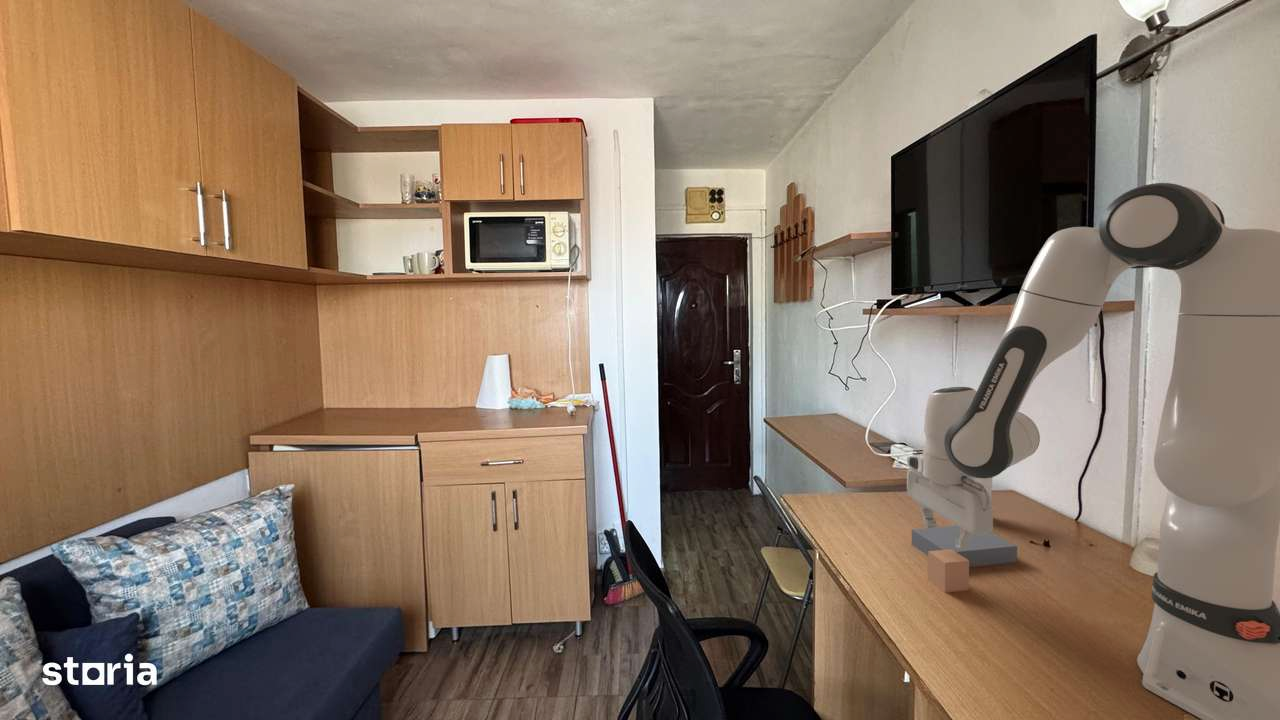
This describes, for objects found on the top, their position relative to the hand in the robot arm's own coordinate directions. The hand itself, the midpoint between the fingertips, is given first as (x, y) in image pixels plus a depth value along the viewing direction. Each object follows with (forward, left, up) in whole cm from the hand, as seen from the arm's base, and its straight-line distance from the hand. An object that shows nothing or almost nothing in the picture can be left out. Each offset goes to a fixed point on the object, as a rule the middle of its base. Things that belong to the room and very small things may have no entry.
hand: (944, 536), depth 105 cm
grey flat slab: (+11, -12, -10) cm, 19 cm away
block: (-1, 0, -10) cm, 10 cm away
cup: (+28, -29, -10) cm, 42 cm away
